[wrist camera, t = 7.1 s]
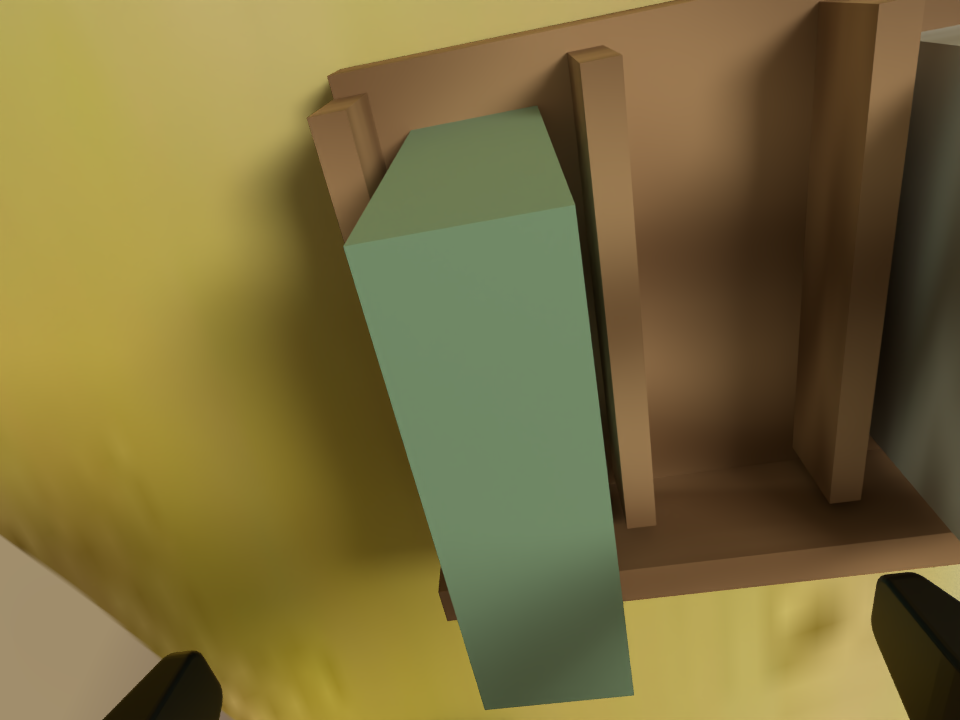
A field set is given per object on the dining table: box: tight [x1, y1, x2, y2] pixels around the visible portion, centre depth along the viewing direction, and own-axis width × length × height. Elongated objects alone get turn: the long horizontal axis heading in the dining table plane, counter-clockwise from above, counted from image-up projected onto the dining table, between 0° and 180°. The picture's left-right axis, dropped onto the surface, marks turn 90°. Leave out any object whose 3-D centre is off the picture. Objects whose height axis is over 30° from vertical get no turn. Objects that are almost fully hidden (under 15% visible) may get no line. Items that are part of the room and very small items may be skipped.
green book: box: [343, 106, 634, 710], centre depth 14 cm, size 10×3×8 cm, turn 11°
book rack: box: [307, 0, 960, 621], centre depth 15 cm, size 14×17×8 cm
